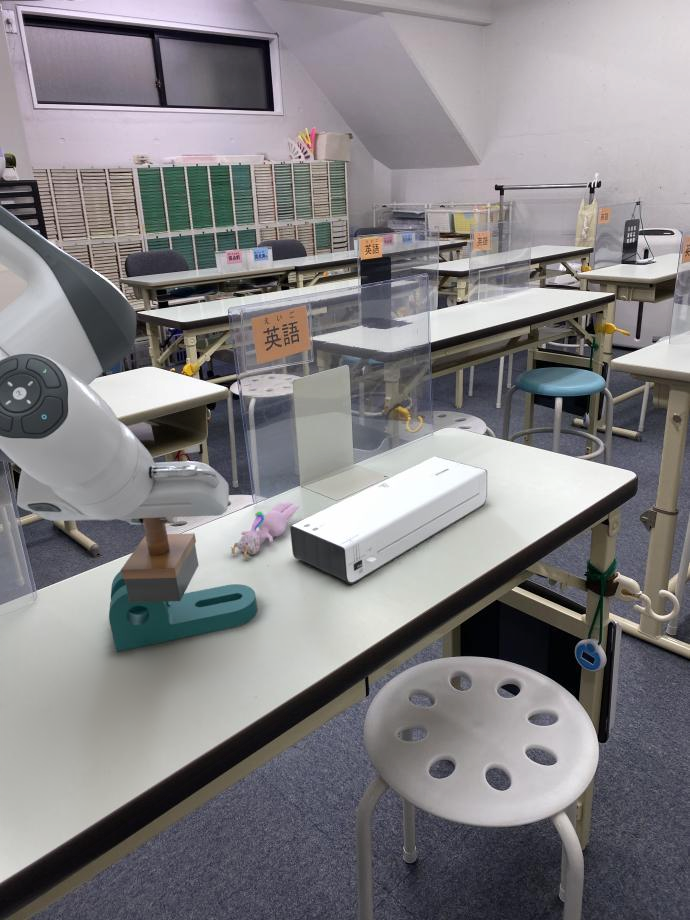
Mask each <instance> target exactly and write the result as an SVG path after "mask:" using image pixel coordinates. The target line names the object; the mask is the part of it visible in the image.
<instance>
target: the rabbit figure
mask: <svg viewBox="0 0 690 920" xmlns="http://www.w3.org/2000/svg"><path fill="white" fill-rule="evenodd" d="M300 506H301V505H300V504H294V505H293V503H292V502H280V503H278V504H276V505H275V506H273V508H272V509H271V510H270V511H267V512H266V513H265V514H264V513H263V511H259V510H258V511H257V512H255V514H254V516H255V518H254V520H253V522H252V525H251V528H250V530H243V531H242V532H241V533H240V534H241V535H242V536H241V538H240V540H238V542H234V544H233V547H232V546H231V547H230V548H231V554H230V555H231V556H232V555H233V556H237V554H236V552H235V549H236V548H237V549H238V550H239V551H240V552H242V553H243V556H242V558H243V559H244V558H245V560H246V562H247V560H248V559H249V557H248V554H249V555H256V554H257V553H258V552H259V550H260V548H261V544H262V543H264V542H265V541H266V539H268V540H269V543H273V542H274V539H273V538H276V537H279V536H281V535H282V534H283V533H284V532H285V530H286V526H287V523H288V521H289V520H290V519H291V518H292V517H293V516H294V514H295V513H296V511H297V510H298V508H299V507H300ZM257 528H258V529H257ZM247 553H248V554H247Z"/></svg>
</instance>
